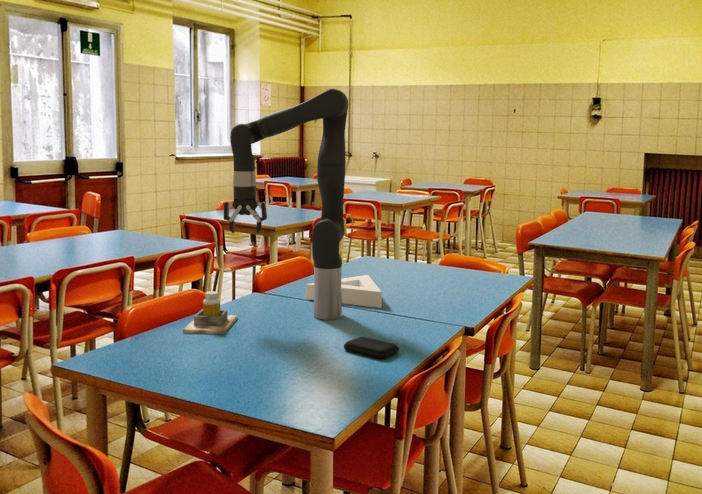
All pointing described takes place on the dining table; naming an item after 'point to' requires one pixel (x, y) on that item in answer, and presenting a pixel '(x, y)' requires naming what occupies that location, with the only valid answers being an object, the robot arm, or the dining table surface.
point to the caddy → (210, 323)
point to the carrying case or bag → (371, 348)
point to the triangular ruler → (355, 291)
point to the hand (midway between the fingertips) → (245, 232)
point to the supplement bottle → (211, 304)
